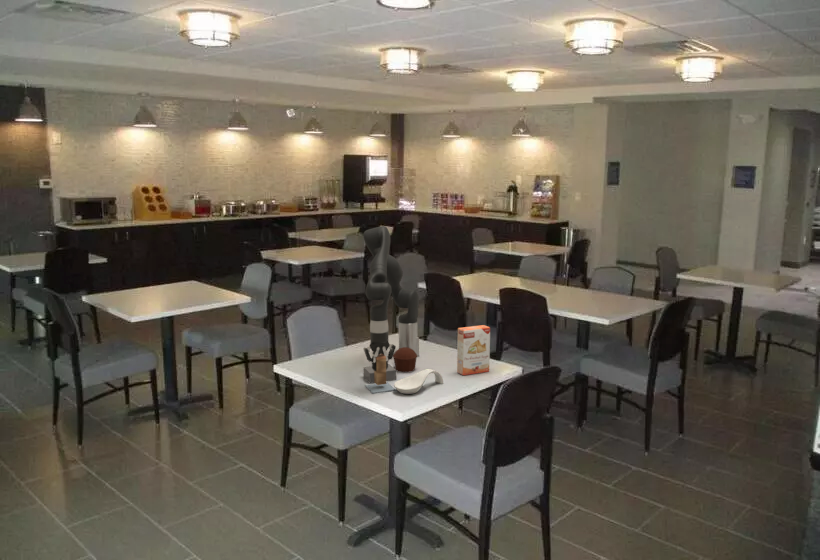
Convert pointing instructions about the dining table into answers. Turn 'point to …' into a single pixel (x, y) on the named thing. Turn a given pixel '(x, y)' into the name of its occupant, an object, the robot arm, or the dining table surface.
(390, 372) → the block
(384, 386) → the rubber mat
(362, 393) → the dining table surface
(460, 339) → the cracker box
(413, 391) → the spoon rest
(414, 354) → the muffin
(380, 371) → the walnut plug
